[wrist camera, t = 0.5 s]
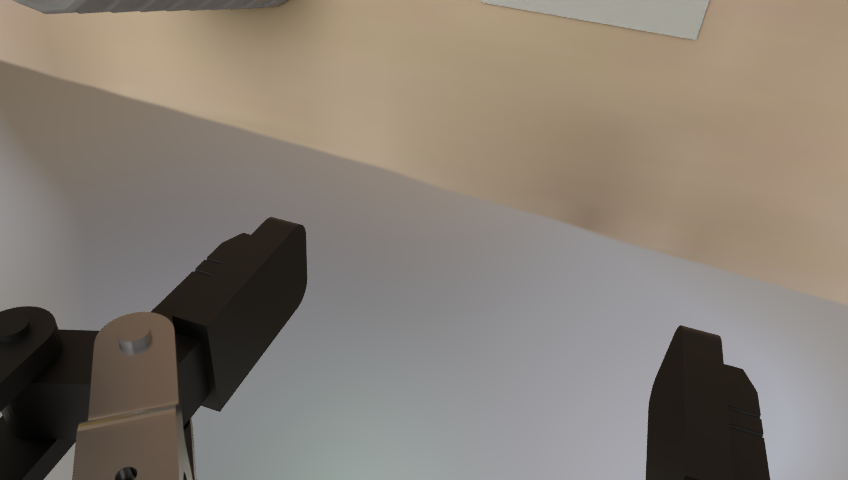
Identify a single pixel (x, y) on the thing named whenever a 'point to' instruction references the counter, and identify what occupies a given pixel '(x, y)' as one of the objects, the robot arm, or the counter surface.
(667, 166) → the counter surface
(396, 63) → the counter surface
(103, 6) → the soap bottle
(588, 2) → the felt pad
